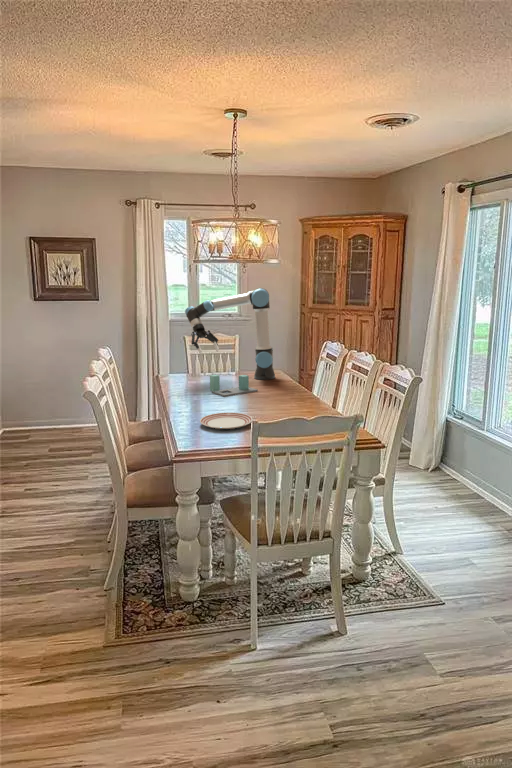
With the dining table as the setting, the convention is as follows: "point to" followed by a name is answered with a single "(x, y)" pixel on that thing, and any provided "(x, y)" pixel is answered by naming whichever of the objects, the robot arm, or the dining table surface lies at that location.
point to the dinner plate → (226, 420)
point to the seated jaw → (243, 382)
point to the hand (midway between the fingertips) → (209, 351)
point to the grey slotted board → (233, 391)
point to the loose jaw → (214, 382)
